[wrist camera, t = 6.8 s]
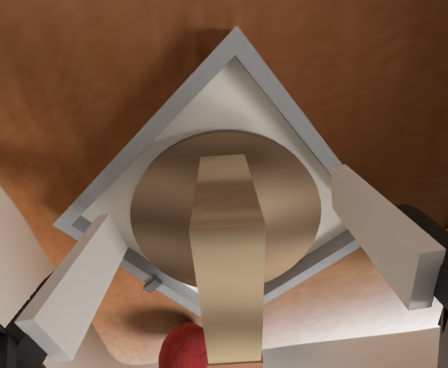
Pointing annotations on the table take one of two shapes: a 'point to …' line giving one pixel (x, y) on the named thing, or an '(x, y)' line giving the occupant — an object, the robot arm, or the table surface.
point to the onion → (184, 348)
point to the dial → (226, 229)
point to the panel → (210, 121)
